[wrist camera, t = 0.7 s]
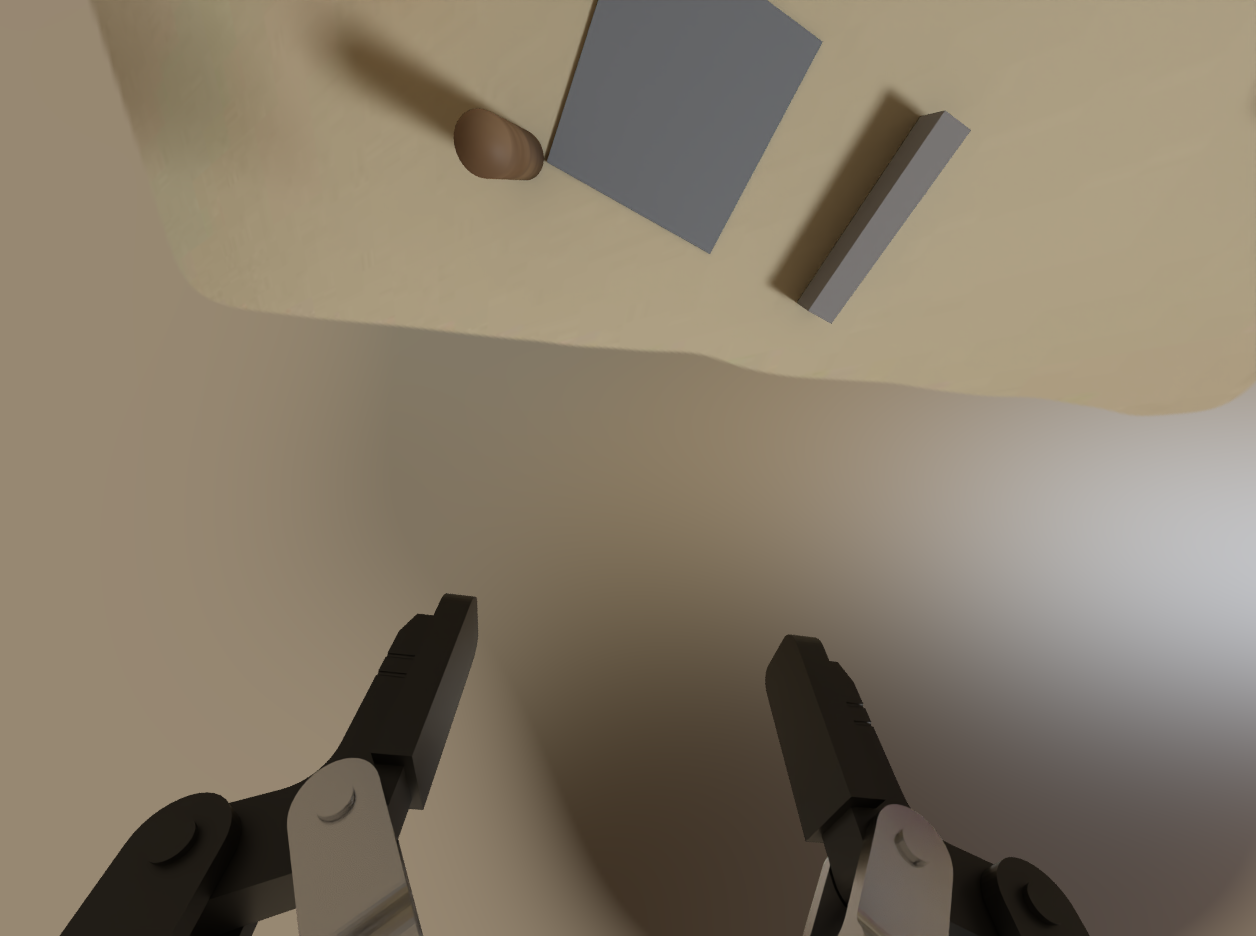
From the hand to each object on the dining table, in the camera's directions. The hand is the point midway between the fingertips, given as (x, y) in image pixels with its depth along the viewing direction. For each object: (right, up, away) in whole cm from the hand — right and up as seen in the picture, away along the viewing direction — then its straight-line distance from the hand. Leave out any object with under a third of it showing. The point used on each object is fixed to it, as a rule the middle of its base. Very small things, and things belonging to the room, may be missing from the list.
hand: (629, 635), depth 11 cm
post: (-7, +24, +16) cm, 30 cm away
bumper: (+16, +21, +18) cm, 32 cm away
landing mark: (+3, +26, +15) cm, 30 cm away
